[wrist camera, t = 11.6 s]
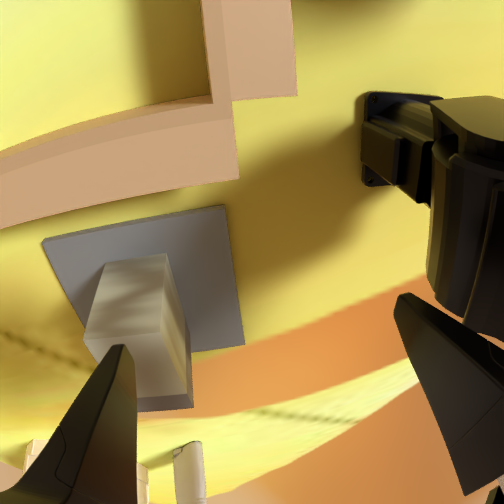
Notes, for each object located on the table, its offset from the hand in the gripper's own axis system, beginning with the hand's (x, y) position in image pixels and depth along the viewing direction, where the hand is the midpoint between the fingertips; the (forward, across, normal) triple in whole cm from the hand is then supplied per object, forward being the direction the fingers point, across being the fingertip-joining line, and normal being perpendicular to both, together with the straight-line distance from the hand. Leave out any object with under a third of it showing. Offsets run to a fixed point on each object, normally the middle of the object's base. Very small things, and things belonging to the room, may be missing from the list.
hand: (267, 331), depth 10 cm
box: (+11, +7, +8) cm, 16 cm away
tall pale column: (+12, +12, +40) cm, 43 cm away
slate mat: (+12, +7, +8) cm, 16 cm away
